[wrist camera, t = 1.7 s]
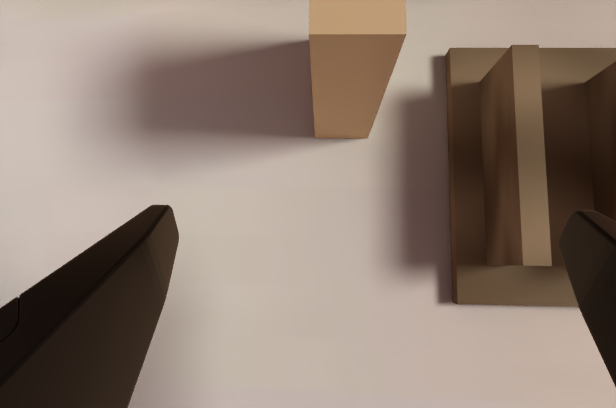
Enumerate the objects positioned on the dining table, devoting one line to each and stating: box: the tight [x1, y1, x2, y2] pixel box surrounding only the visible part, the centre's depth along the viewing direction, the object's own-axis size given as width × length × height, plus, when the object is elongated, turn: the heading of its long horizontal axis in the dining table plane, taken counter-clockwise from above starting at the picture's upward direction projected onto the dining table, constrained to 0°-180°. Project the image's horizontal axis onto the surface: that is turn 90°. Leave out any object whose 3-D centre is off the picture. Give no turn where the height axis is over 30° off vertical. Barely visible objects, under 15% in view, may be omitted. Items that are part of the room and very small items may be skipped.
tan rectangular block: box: [309, 0, 406, 138], centre depth 19 cm, size 6×3×11 cm, turn 179°
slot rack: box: [446, 45, 616, 306], centre depth 21 cm, size 14×10×5 cm
